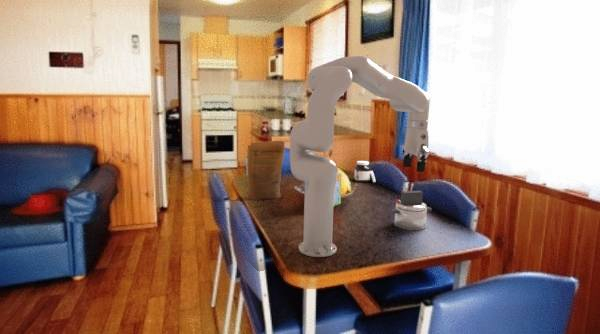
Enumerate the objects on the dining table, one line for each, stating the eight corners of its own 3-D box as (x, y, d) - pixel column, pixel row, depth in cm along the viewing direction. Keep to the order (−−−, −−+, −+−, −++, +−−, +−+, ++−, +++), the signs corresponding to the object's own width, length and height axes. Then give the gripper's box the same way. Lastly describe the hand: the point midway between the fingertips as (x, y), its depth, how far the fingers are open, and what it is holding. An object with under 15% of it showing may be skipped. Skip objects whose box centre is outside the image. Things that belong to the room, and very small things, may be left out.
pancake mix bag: (286, 198, 197) (287, 141, 192) (248, 202, 190) (247, 142, 185) (281, 195, 204) (282, 139, 198) (244, 198, 197) (244, 140, 191)
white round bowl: (432, 210, 157) (433, 194, 156) (405, 212, 154) (406, 196, 152) (415, 202, 168) (417, 187, 167) (390, 203, 165) (391, 189, 163)
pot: (437, 228, 159) (439, 210, 158) (398, 232, 154) (399, 212, 153) (420, 219, 170) (421, 201, 169) (383, 222, 166) (384, 204, 164)
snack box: (331, 202, 194) (332, 171, 191) (341, 204, 190) (342, 172, 187) (303, 211, 178) (304, 178, 175) (313, 214, 174) (314, 180, 171)
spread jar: (352, 179, 242) (353, 160, 240) (369, 178, 245) (370, 159, 243) (361, 184, 231) (362, 164, 229) (379, 183, 234) (380, 163, 232)
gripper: (439, 127, 147) (435, 173, 151) (413, 123, 164) (410, 165, 167) (421, 127, 145) (417, 174, 148) (397, 123, 162) (393, 165, 165)
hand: (413, 169), depth 158 cm, fingers open, 9 cm apart
